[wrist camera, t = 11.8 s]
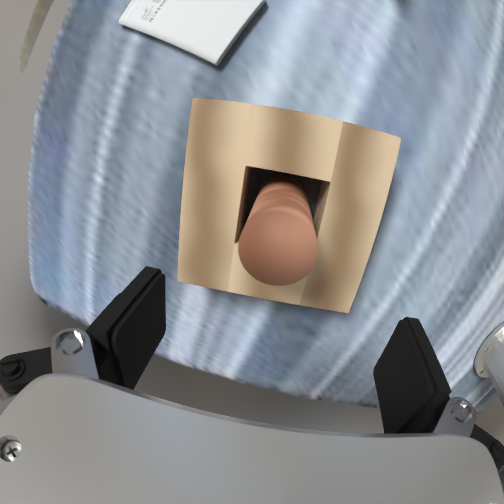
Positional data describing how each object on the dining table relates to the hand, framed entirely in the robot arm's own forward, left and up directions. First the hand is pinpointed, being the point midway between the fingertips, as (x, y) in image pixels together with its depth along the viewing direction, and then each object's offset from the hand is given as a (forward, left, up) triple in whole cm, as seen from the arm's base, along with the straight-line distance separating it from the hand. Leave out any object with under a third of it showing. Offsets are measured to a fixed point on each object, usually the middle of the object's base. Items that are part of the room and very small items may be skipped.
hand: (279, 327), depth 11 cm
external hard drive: (+12, -18, -19) cm, 29 cm away
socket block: (0, 0, -18) cm, 18 cm away
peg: (0, 0, -18) cm, 18 cm away
